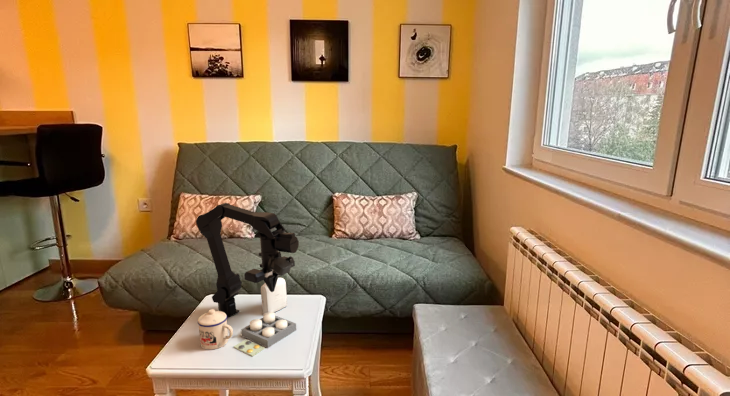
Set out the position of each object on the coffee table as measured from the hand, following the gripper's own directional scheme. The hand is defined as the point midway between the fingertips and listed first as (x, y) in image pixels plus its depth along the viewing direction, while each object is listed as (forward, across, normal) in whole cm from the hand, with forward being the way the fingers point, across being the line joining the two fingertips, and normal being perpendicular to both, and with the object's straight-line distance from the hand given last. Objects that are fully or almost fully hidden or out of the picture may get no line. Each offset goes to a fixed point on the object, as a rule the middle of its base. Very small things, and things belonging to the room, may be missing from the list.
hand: (272, 291), depth 144 cm
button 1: (+10, -9, -1) cm, 13 cm away
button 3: (+10, -3, -1) cm, 10 cm away
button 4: (+11, -3, -7) cm, 14 cm away
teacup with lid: (+12, -20, +5) cm, 24 cm away
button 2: (+11, -9, -7) cm, 16 cm away
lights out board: (+12, -9, -4) cm, 16 cm away
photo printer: (+12, +7, +7) cm, 16 cm away
